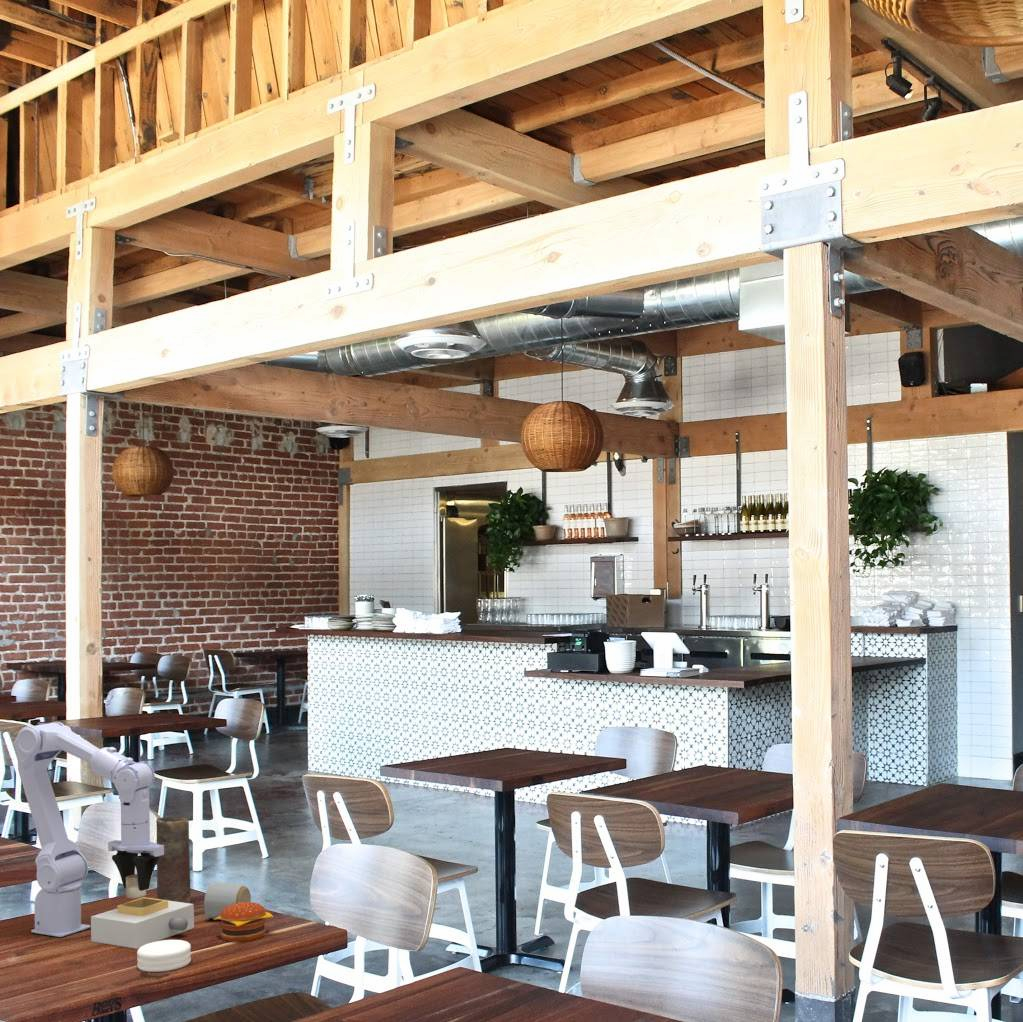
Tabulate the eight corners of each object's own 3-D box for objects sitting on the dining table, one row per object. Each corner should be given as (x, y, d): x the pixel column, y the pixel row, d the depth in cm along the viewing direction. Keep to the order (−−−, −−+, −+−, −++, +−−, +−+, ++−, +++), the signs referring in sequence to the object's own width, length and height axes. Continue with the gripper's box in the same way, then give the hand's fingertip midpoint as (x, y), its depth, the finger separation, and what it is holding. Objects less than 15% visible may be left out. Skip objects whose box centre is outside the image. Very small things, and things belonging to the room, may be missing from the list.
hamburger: (247, 927, 258) (247, 895, 259) (275, 934, 252) (275, 902, 252) (210, 937, 251) (209, 904, 252) (238, 945, 245) (237, 911, 245)
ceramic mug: (238, 923, 261) (238, 886, 262) (203, 922, 263) (202, 886, 264) (258, 911, 272) (258, 875, 272) (224, 910, 273) (224, 875, 274)
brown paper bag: (165, 903, 281) (164, 814, 282) (196, 903, 280) (194, 814, 281) (151, 911, 274) (150, 821, 275) (182, 911, 272) (181, 821, 274)
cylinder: (121, 897, 253) (121, 877, 253) (136, 892, 257) (136, 873, 257) (135, 899, 251) (135, 879, 251) (150, 894, 255) (150, 874, 255)
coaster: (134, 962, 237) (133, 943, 237) (186, 954, 241) (186, 936, 241) (140, 976, 228) (140, 957, 228) (195, 967, 232) (194, 948, 232)
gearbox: (91, 941, 251) (90, 909, 252) (150, 921, 265) (149, 891, 266) (146, 950, 243) (146, 917, 244) (204, 929, 257) (203, 898, 258)
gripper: (96, 823, 255) (97, 889, 254) (145, 828, 248) (146, 896, 247) (122, 817, 261) (123, 881, 260) (171, 821, 254) (172, 888, 253)
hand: (136, 888), depth 254 cm, fingers closed on cylinder, 4 cm apart
